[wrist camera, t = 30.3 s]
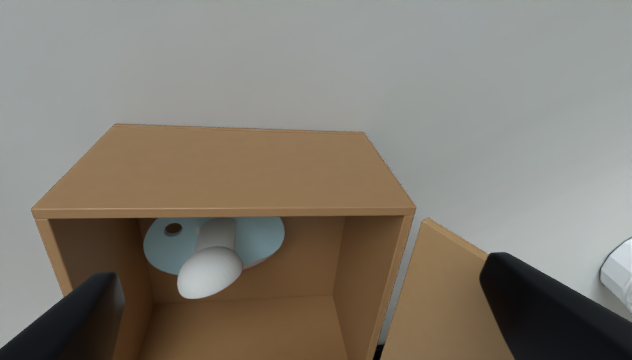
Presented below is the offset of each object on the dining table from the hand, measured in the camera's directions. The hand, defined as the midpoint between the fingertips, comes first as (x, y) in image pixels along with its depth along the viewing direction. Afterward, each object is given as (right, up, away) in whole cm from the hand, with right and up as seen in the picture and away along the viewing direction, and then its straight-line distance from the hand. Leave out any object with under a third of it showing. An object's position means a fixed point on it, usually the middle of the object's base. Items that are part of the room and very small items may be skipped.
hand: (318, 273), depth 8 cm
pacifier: (-5, -1, +12) cm, 14 cm away
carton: (-4, -1, +13) cm, 14 cm away
